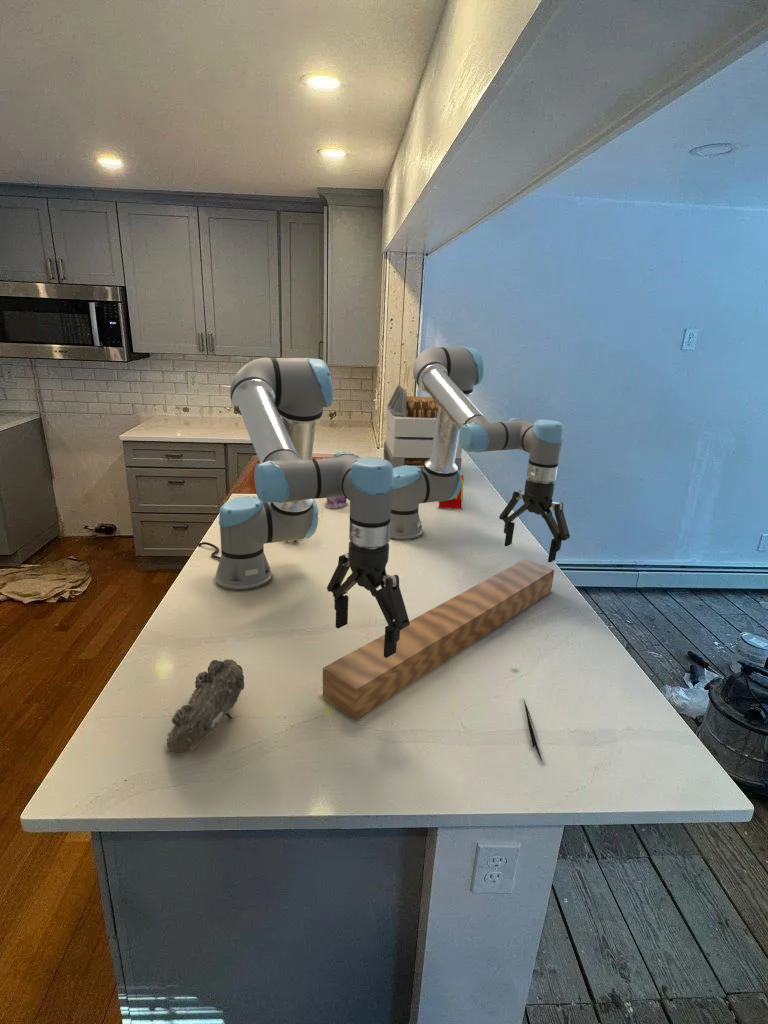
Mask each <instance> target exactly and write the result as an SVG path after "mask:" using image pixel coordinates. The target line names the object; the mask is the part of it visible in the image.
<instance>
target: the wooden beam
mask: <svg viewBox="0 0 768 1024" xmlns="http://www.w3.org/2000/svg"><path fill="white" fill-rule="evenodd" d="M554 575H555V569H554V568H551V567H548V566H545V565H542V564H540V563H537V562H534V561H531V560H529V559H525V558H523V560H521V561H518V562H516V563H515V564H512V565H511V566H509V567H507V568H506V569H504V570H501V571H500V572H498V573H496V574H494V575H493V576H491V577H488V578H487V579H485V580H483V581H481V582H480V583H478V584H476V585H474V586H472V587H470V588H468V589H467V590H465V591H463V592H460V593H459V594H457V595H455V596H454V597H451V598H450V599H448V600H446V601H444V602H443V603H441V604H439V605H436V606H435V607H433V608H431V609H429V610H428V611H426V612H423V613H421V614H420V615H418V616H417V617H414V618H412V619H411V620H409V622H410V625H409V626H407V627H405V628H403V629H402V630H400V639H399V641H398V642H397V645H396V653H394V654H393V655H391V656H389V657H388V658H385V657H384V640H385V634H382V635H381V636H379V637H377V638H375V639H374V640H372V641H370V642H368V643H366V644H365V645H363V646H361V647H359V648H357V649H355V650H353V651H351V652H349V653H347V654H346V655H344V656H342V657H340V658H339V659H336V660H334V661H333V662H331V663H329V664H326V665H325V666H323V667H322V698H324V699H325V700H326V701H327V702H329V703H330V704H332V705H333V706H334V707H336V708H337V709H339V710H340V711H341V712H343V713H345V714H346V715H347V716H348V717H350V718H351V719H352V720H354V721H356V720H358V719H359V718H361V717H362V716H364V715H366V714H367V713H368V712H369V711H371V710H373V709H375V708H376V707H377V706H380V704H382V703H384V702H385V701H387V700H388V699H390V698H391V697H393V696H394V695H396V694H397V693H399V692H400V691H402V690H404V689H405V688H406V687H408V686H409V685H411V684H412V683H415V682H416V681H417V680H419V679H420V678H422V677H423V676H425V675H426V674H428V673H429V672H431V671H432V670H434V669H435V668H437V667H439V666H440V665H441V664H443V663H445V662H447V660H449V659H451V658H452V657H455V655H456V654H459V653H460V652H461V651H463V650H464V649H466V648H468V647H469V646H471V645H472V644H473V643H475V642H477V641H478V640H480V639H481V638H483V637H485V636H486V635H488V634H489V633H490V632H492V631H493V630H495V629H496V628H498V627H499V626H501V625H503V624H504V623H506V622H507V621H509V620H510V619H512V618H513V617H515V616H516V615H518V614H519V613H521V612H522V611H524V610H525V609H527V608H529V607H530V606H531V605H533V604H534V603H536V602H537V601H539V600H541V599H542V598H544V597H545V596H547V595H548V594H550V593H551V592H552V587H553V580H554Z"/></svg>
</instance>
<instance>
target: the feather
mask: <svg viewBox="0 0 768 1024" xmlns="http://www.w3.org/2000/svg"><path fill="white" fill-rule="evenodd" d="M514 670H517V669H516V668H514ZM523 704H524V709H525V715H526V719H527V725H528V730H529V735H530V739H531V745H532V748H535V750H536V752H537V754H538V757H539V759H540V761H541V762H542V761H543V760H542V759H543V758H542V756H541V753H540V751H541V752H543V749H539V745H538V744H539V742H540V741H539V736H538V735H537V734H538V733H537V730H536V728H535V724H534V722H533V720H532V717H531V714H530V712H529V709H528V706H527V704H526V701H525V699H524V697H523ZM537 741H538V743H537ZM533 752H534V749H533Z"/></svg>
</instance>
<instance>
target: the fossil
mask: <svg viewBox="0 0 768 1024" xmlns="http://www.w3.org/2000/svg"><path fill="white" fill-rule="evenodd" d="M243 670H244V669H243V667H242V665H240V664H237V662H236V661H235V660H234V659H232V658H231V659H227V658H226V659H224V660H223V661H222V660H217V659H212V660H211V661H210V663H209V665H208V666H207V671H201V672H199V673H198V674H197V675H196V676H195V680H194V684H195V685H194V687H195V689H194V690H193V693H192V694H191V697H190V698H189V700H188V704H184V705H182V706H181V707H180V709H177V710H176V711H175V713H174V715H173V716H172V718H171V723H172V724H173V727H172V730H171V731H170V732H168V734H167V738H166V741H167V742H166V745H167V749H168V750H169V751H173V752H174V753H176V754H178V753H182V752H188V751H189V752H192V751H193V750H195V748H196V747H197V746H199V744H200V743H201V742H203V741H204V740H205V739H206V738H207V737H208V736H209V735H210V734H211V733H212V732H214V730H215V729H217V727H218V726H219V724H220V722H221V721H222V720H223V719H224V718H225V716H226V717H227V719H229V720H233V717H232V715H230V714H229V710H230V709H231V708H234V706H235V704H236V703H237V702H238V699H239V697H240V695H241V693H242V691H243V690H245V689H244V688H245V675H244V671H243Z"/></svg>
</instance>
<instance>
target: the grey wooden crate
mask: <svg viewBox="0 0 768 1024" xmlns="http://www.w3.org/2000/svg"><path fill="white" fill-rule="evenodd" d="M407 394H408V393H407V390H406V389H404V388H403V387H402V385H399V384H398V385H397V386H396V388H395V390H394V392H393V394H392V395H391V398H390V400H389V402H388V404H387V405H386V413H385V414H386V415H385V423H386V428H385V438H384V442H383V459H384V460H387V461H389V462H390V463H391V464H392V466H393V468H395V467H399V466H406V465H407V466H417V467H424V465H425V462H426V461H427V460H428V459H430V456H431V449H432V443H433V437H434V431H435V425H436V419H437V413H438V407H439V405H438V404H437V403H436V401H435V400H434V399H433V398H432V397H431V396H415V395H414V396H413V395H412V396H411V395H407ZM462 453H463V448H462V447H461V442H459V441H458V446H457V451H456V457H455V462H454V463H455V464H456V465H457V467H458V470H459V472H460V474H461V475H462V473H461V472H462V461H463V460H462Z"/></svg>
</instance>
